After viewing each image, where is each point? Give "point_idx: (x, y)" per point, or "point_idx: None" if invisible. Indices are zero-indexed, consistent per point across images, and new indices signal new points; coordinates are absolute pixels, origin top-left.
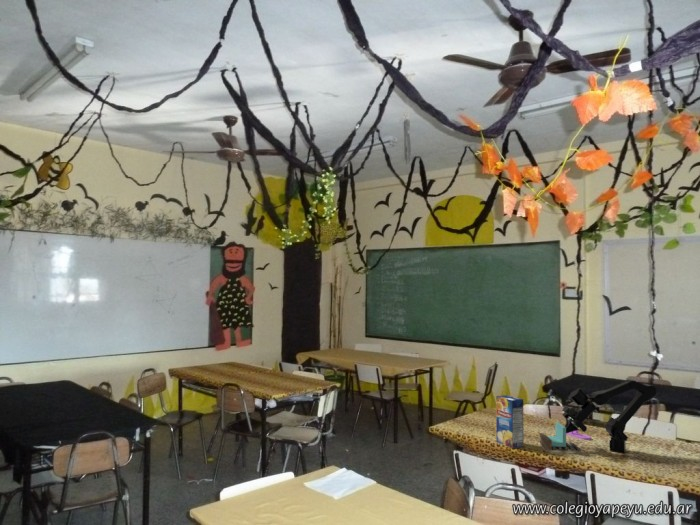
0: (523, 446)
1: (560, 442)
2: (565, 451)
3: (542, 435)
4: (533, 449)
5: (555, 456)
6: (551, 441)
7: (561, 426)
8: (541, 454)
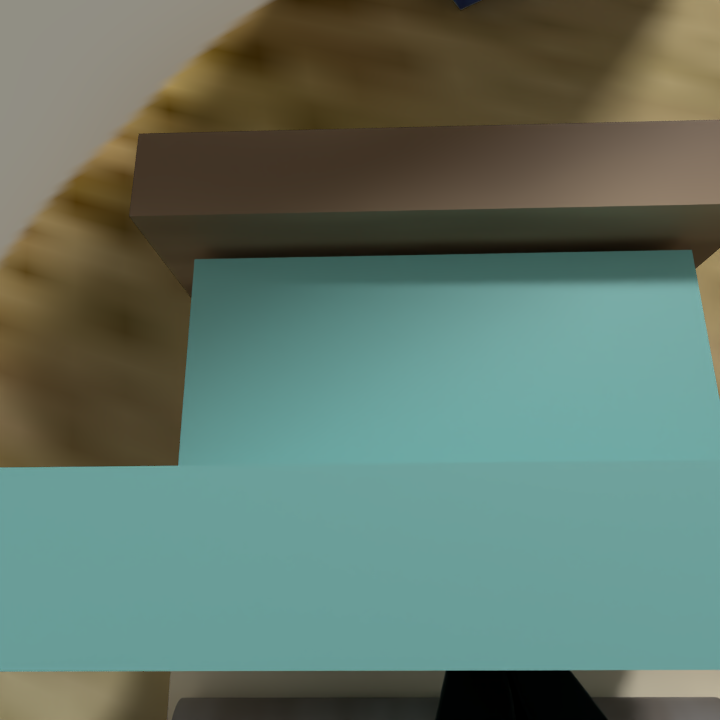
0: (459, 6)
1: (181, 450)
2: None
3: (517, 126)
4: (343, 103)
5: (6, 315)
6: (142, 228)
7: (174, 484)
8: (106, 148)
